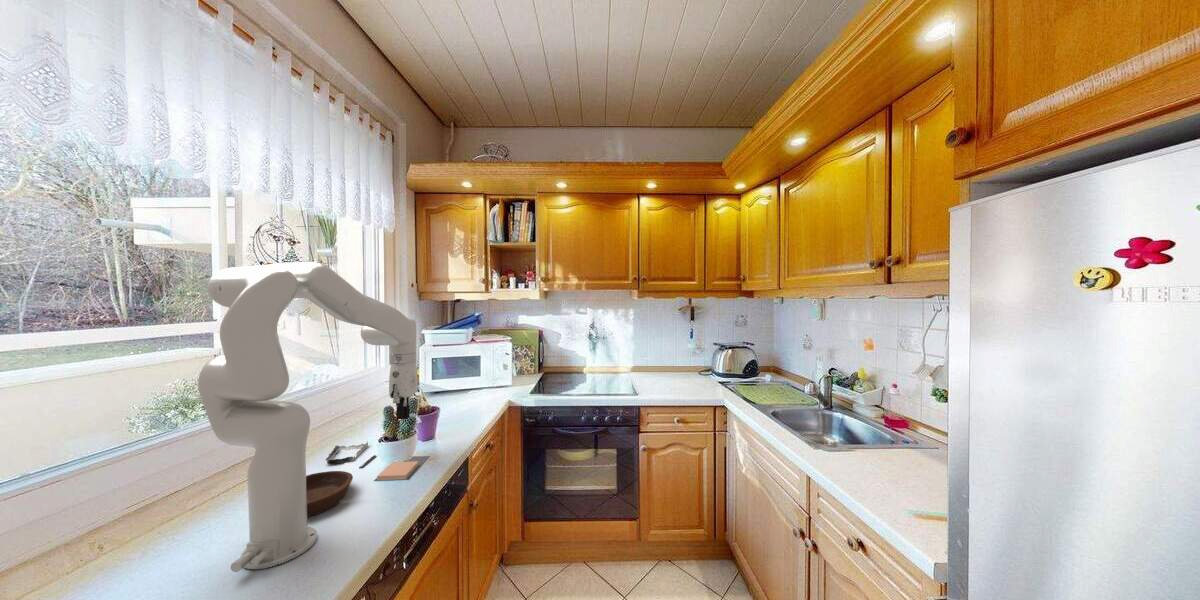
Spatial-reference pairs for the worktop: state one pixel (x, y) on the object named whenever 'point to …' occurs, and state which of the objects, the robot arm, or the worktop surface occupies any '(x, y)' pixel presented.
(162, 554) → the worktop surface
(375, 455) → the dark grey thin rod
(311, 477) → the dish
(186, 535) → the worktop surface
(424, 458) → the mat
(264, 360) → the robot arm
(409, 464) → the tile
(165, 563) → the worktop surface
